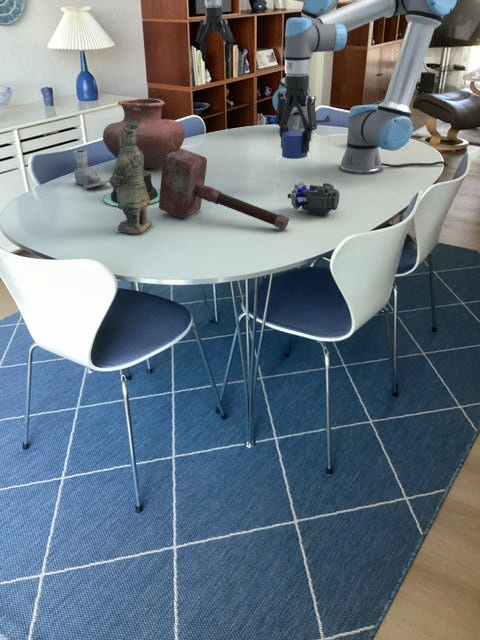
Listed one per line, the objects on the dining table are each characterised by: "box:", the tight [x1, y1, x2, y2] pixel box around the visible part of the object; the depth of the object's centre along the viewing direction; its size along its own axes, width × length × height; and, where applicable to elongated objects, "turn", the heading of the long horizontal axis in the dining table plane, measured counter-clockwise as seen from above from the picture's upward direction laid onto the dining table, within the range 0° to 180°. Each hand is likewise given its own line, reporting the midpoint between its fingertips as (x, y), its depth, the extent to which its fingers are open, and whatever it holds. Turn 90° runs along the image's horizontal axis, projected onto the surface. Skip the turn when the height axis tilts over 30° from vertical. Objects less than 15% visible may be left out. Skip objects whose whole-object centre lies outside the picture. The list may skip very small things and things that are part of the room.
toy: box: [287, 180, 341, 216], centre depth 168 cm, size 9×9×15 cm
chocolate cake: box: [103, 168, 160, 207], centre depth 186 cm, size 15×19×20 cm
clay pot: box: [102, 98, 186, 169], centre depth 213 cm, size 30×30×25 cm
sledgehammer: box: [158, 148, 290, 231], centre depth 163 cm, size 17×10×40 cm
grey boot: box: [73, 148, 110, 189], centre depth 197 cm, size 9×12×15 cm
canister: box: [281, 131, 308, 160], centre depth 181 cm, size 8×8×7 cm
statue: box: [108, 121, 153, 235], centre depth 154 cm, size 11×9×30 cm
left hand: (215, 59), depth 256 cm, fingers open, 13 cm apart
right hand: (294, 149), depth 182 cm, fingers closed on canister, 8 cm apart
